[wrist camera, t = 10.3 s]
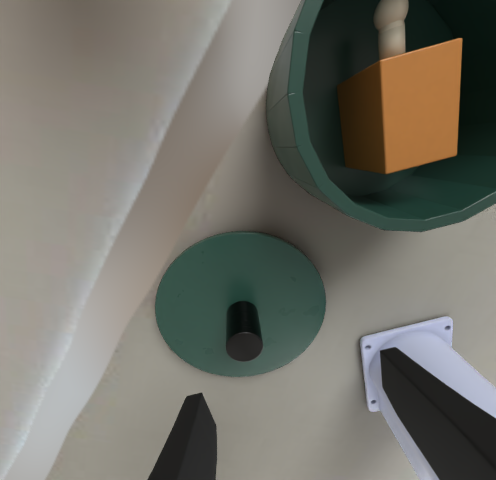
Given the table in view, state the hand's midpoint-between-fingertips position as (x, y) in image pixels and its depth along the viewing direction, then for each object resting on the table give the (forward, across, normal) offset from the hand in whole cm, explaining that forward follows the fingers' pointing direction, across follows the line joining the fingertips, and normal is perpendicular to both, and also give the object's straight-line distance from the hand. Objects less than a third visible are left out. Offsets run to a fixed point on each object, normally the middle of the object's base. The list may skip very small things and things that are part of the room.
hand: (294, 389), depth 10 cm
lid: (+9, +2, +2) cm, 10 cm away
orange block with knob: (+9, -8, -10) cm, 16 cm away
